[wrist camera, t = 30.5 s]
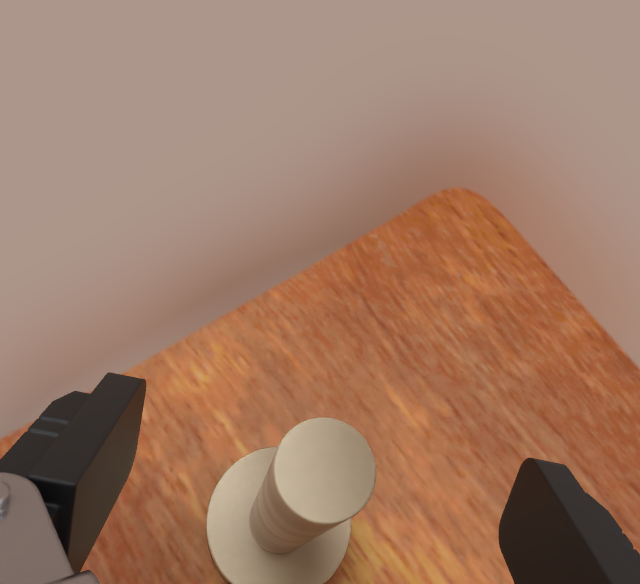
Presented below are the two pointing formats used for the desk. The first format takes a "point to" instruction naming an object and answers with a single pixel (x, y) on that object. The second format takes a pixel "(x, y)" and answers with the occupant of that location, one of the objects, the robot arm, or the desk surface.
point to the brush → (291, 506)
